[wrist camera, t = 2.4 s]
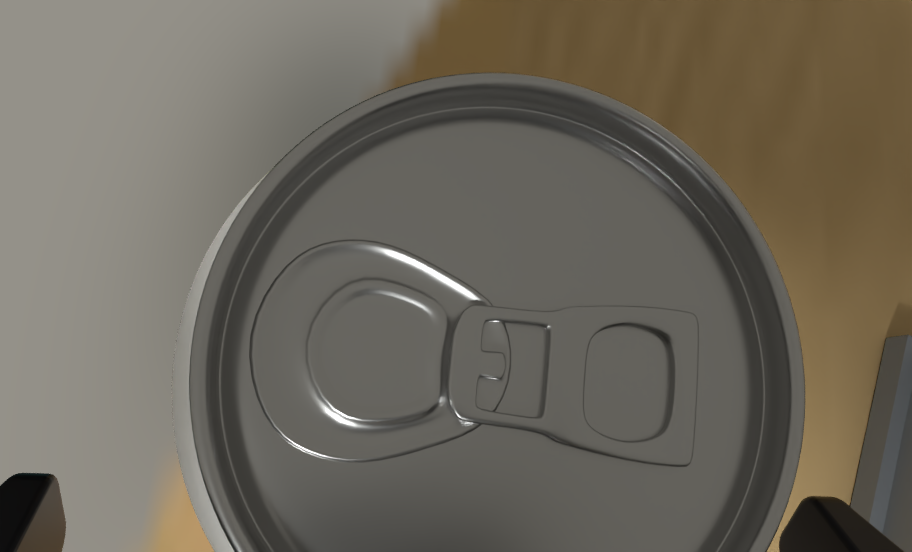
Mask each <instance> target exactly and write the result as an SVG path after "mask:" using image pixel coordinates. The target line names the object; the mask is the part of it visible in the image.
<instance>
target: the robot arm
mask: <svg viewBox="0 0 912 552" xmlns="http://www.w3.org/2000/svg"><path fill="white" fill-rule="evenodd" d="M65 531H66V521H65V515H64V510H63V505H62V499H61V494H60V489H59V483H58V481H57V478H56V477H55V476H54V475H52V474H44V473H18V474H15V475H13V476H11V477H10V478H8V479H7V480H6V481H5V482H4V483H3V484H2V485H1V486H0V552H62V548H63V544H64V538H65ZM779 551H780V552H904V551H903V550H902V549H901V548H899V547H898V546H897V545H896V544H895V543H893V542H892V541H891V540H890V539H889V538H887V537H886V536H885V535H884V534H882V533H881V532H880V531H879V530H878V529H876V528H875V527H874V526H873V525H872V524H870V523H869V522H868V521H867V520H866V519H864V518H863V517H862V516H861V515H859V514H858V513H857V512H856V511H855V510H853V509H852V508H851V507H850V506H849V505H847V504H846V503H845V502H843V501H842V500H840V499H838V498H835V497H821V496H810V497H807V498H805V499H803V500H802V501H801V503H800V504H799V506H798V507H797V509H796V511H795V512H794V514H793V516H792V517H791V519H790V521H789V522H788V524H787V525H786V527H785V529H784V530H783V532H782V534H781V537H780V541H779Z"/></svg>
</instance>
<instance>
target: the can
mask: <svg viewBox="0 0 912 552" xmlns="http://www.w3.org/2000/svg"><path fill="white" fill-rule="evenodd" d="M172 412H173V413H172V414H173V426H174V435H175V442H176V448H177V453H178V458H179V463H180V467H181V471H182V475H183V478H184V482H185V485H186V488H187V491H188V494H189V498H190V500H191V503H192V505H193V508H194V511H195V513H196V515H197V518H198V520H199V522H200V524H201V527H202V529H203V531H204V533H205V535H206V537H207V539H208V541H209V542H210V544H211V546H212V548H213V549H214V551H215V552H766V551H767V550H768V548H769V546H770V544H771V542H772V540H773V538H774V536H775V534H776V531H777V529H778V527H779V524H780V522H781V520H782V517H783V514H784V512H785V509H786V507H787V504H788V501H789V497H790V494H791V491H792V488H793V484H794V480H795V477H796V472H797V468H798V463H799V458H800V452H801V447H802V439H803V430H804V418H805V378H804V366H803V356H802V349H801V343H800V337H799V332H798V327H797V323H796V319H795V315H794V311H793V307H792V304H791V300H790V297H789V294H788V291H787V288H786V286H785V283H784V280H783V277H782V275H781V272H780V270H779V268H778V265H777V263H776V261H775V259H774V257H773V254H772V252H771V250H770V248H769V246H768V244H767V243H766V241H765V239H764V237H763V235H762V233H761V232H760V230H759V228H758V227H757V225H756V223H755V222H754V220H753V219H752V217H751V215H750V214H749V212H748V211H747V210H746V208H745V207H744V205H743V204H742V202H741V201H740V200H739V198H738V197H737V196H736V195H735V193H734V192H733V191H732V189H731V188H730V187H729V186H728V185H727V183H726V182H725V181H724V180H723V179H722V178H721V177H720V176H719V174H718V173H717V172H716V171H715V170H714V169H713V168H712V167H711V166H710V165H709V164H708V163H707V162H706V161H705V160H704V159H703V158H702V157H701V156H700V155H699V154H697V153H696V152H695V151H694V150H693V149H692V148H691V147H689V146H688V145H687V144H686V143H685V142H684V141H682V140H681V139H680V138H678V137H677V136H676V135H674V134H673V133H672V132H670V131H669V130H668V129H666V128H665V127H663V126H662V125H660V124H659V123H657V122H656V121H654V120H653V119H651V118H649V117H648V116H646V115H644V114H643V113H641V112H639V111H637V110H636V109H634V108H632V107H630V106H628V105H626V104H624V103H622V102H620V101H617V100H615V99H613V98H611V97H608V96H606V95H603V94H601V93H599V92H596V91H593V90H590V89H587V88H584V87H581V86H578V85H575V84H571V83H567V82H563V81H559V80H555V79H550V78H545V77H539V76H533V75H525V74H515V73H467V74H457V75H449V76H443V77H437V78H431V79H427V80H423V81H418V82H415V83H411V84H408V85H404V86H401V87H398V88H395V89H392V90H389V91H387V92H384V93H381V94H379V95H376V96H374V97H372V98H370V99H367V100H365V101H363V102H361V103H359V104H357V105H355V106H353V107H351V108H349V109H348V110H346V111H344V112H342V113H341V114H339V115H337V116H336V117H334V118H333V119H331V120H330V121H328V122H326V123H325V124H323V125H322V126H321V127H319V128H318V129H316V130H315V131H314V132H312V133H311V134H310V135H308V136H307V137H306V138H305V139H303V140H302V141H301V142H300V143H299V144H297V145H296V146H295V147H294V148H293V149H292V150H291V151H290V152H289V153H288V154H286V155H285V156H284V157H283V158H282V159H281V160H280V161H279V162H278V163H277V164H276V165H275V166H274V168H272V169H271V170H270V171H269V172H268V173H267V174H266V175H265V176H264V177H263V178H262V179H261V180H260V181H259V182H258V183H257V184H256V185H255V186H254V187H253V188H252V189H251V190H250V191H249V192H248V194H247V195H246V196H245V197H244V198H243V199H242V200H241V201H240V203H239V204H238V205H237V206H236V208H235V209H234V211H233V212H232V213H231V214H230V216H229V217H228V219H227V220H226V221H225V223H224V224H223V226H222V227H221V229H220V230H219V232H218V233H217V235H216V237H215V239H214V240H213V242H212V243H211V245H210V247H209V249H208V251H207V253H206V254H205V257H204V259H203V261H202V263H201V265H200V267H199V269H198V272H197V274H196V276H195V279H194V281H193V283H192V286H191V289H190V292H189V295H188V297H187V301H186V304H185V307H184V310H183V314H182V318H181V322H180V326H179V331H178V336H177V340H176V347H175V354H174V363H173V374H172Z"/></svg>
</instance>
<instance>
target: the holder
mask: <svg viewBox="0 0 912 552" xmlns="http://www.w3.org/2000/svg"><path fill="white" fill-rule="evenodd" d="M850 507H851V508H852V509H853V510H855V511H856V512H857V513H858V514H859V515H861V516H862V517H863V518H864V519H866V520H867V521H868V522H869V523H870V524H872V525H873V526H874V527H875V528H876V529H878V530H879V531H880V532H881V533H882V534H884V535H885V536H886V537H887V538H889V539H890V540H891V541H892V542H893V543H895V544H896V545H897V546H898V547H899V548H901V549H902V550H903V551H904V552H912V336H910V335H903V336H896V337H889V338H886V342H885V346H884V351H883V356H882V361H881V365H880V370H879V375H878V379H877V384H876V389H875V393H874V398H873V403H872V407H871V412H870V417H869V421H868V426H867V431H866V435H865V440H864V445H863V449H862V454H861V459H860V464H859V468H858V473H857V478H856V482H855V487H854V492H853V496H852V501H851V506H850Z"/></svg>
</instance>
